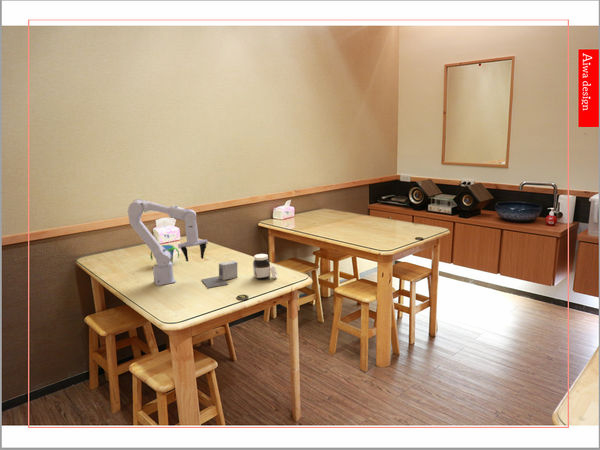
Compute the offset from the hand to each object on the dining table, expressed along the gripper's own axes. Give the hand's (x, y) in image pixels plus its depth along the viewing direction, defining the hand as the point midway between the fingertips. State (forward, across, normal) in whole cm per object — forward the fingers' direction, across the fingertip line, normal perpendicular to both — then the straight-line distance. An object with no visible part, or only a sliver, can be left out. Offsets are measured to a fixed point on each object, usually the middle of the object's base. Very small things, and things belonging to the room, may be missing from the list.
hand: (194, 259), depth 225 cm
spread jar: (+11, +32, -17) cm, 37 cm away
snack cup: (+10, -10, +34) cm, 37 cm away
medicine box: (+6, +10, -9) cm, 15 cm away
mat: (+10, +6, -10) cm, 16 cm away
